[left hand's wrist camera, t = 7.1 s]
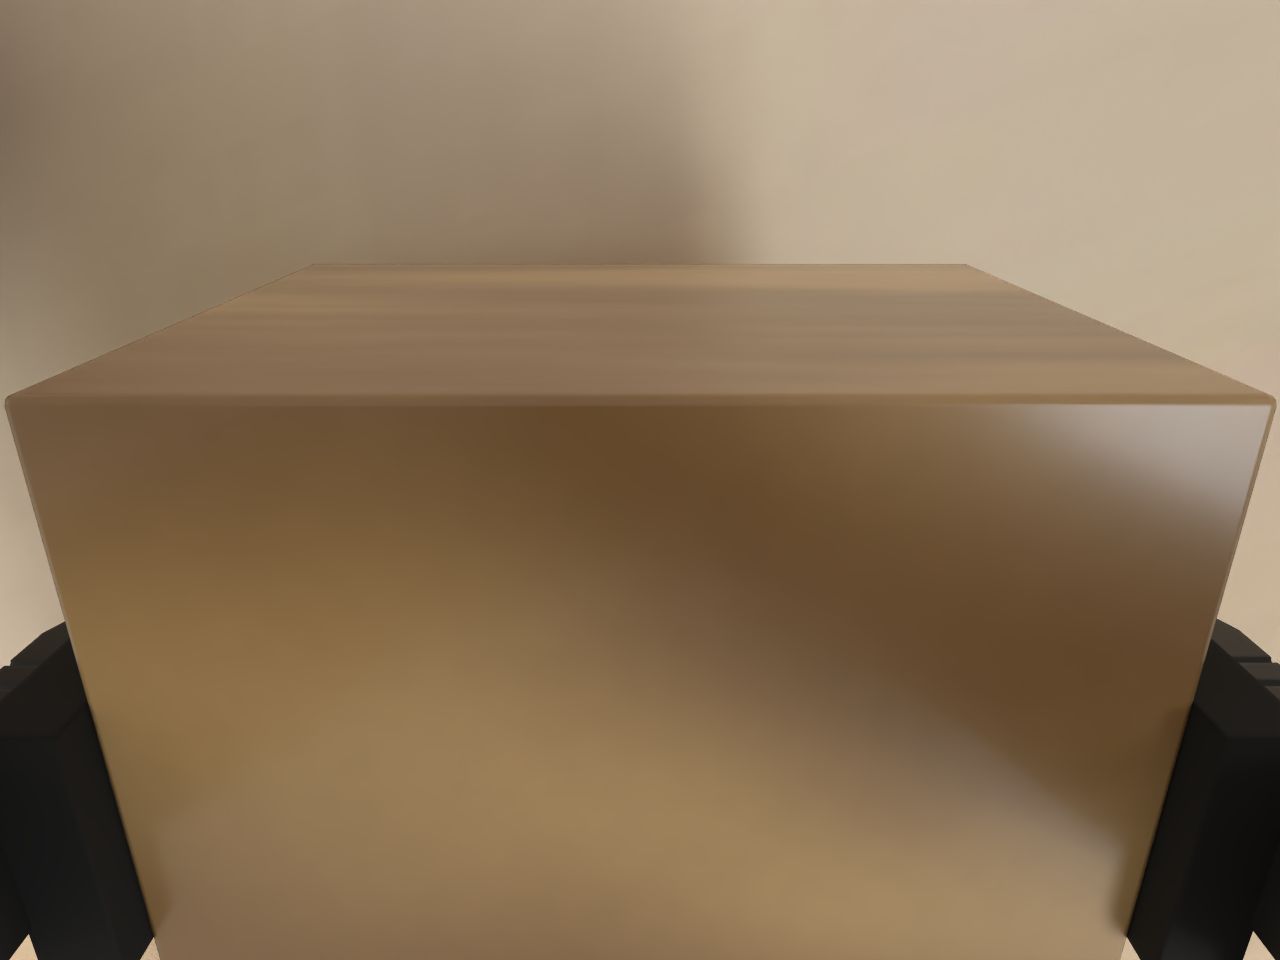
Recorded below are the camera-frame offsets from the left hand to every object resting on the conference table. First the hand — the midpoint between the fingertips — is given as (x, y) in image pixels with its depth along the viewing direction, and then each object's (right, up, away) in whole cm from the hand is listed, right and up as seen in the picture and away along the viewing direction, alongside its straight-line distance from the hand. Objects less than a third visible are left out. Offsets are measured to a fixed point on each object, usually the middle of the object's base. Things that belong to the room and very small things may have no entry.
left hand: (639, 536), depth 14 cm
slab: (0, -30, +13) cm, 33 cm away
